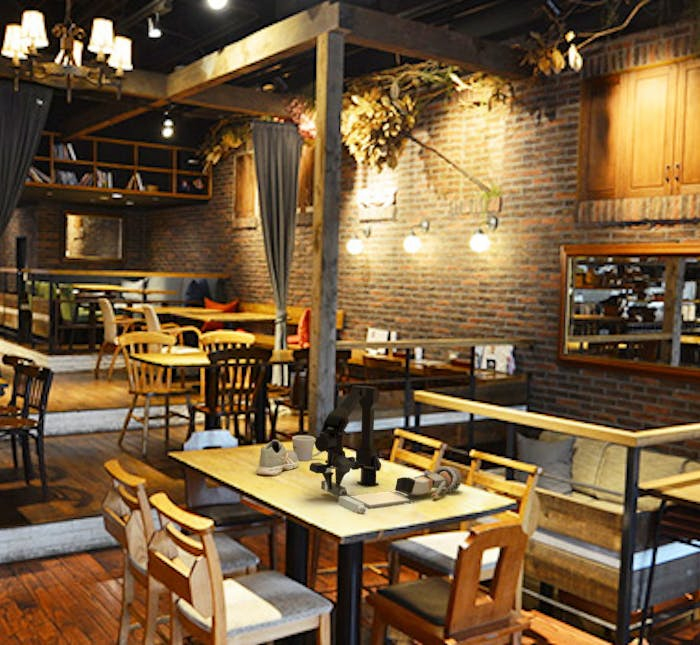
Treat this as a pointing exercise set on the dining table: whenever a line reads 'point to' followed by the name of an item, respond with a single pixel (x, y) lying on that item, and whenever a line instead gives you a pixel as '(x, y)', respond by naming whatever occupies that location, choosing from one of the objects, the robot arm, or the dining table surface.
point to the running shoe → (276, 459)
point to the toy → (430, 482)
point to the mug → (304, 447)
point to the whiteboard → (382, 499)
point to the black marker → (334, 489)
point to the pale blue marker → (352, 504)
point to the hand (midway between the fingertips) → (333, 489)
